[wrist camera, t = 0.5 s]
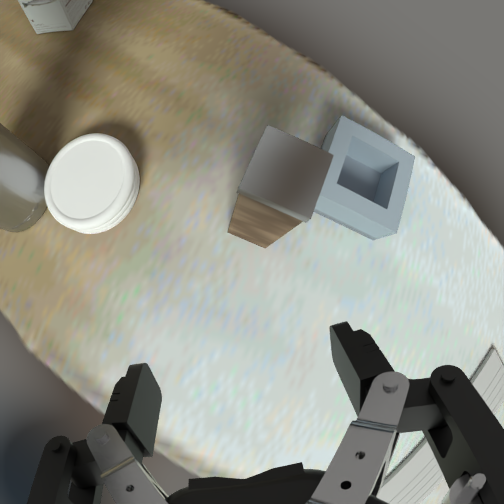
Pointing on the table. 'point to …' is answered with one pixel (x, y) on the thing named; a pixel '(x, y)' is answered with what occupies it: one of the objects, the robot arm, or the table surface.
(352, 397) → the robot arm
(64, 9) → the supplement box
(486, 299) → the table surface
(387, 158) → the grey square collar
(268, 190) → the rail post
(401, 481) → the baseboard
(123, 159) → the white round disc
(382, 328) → the table surface
